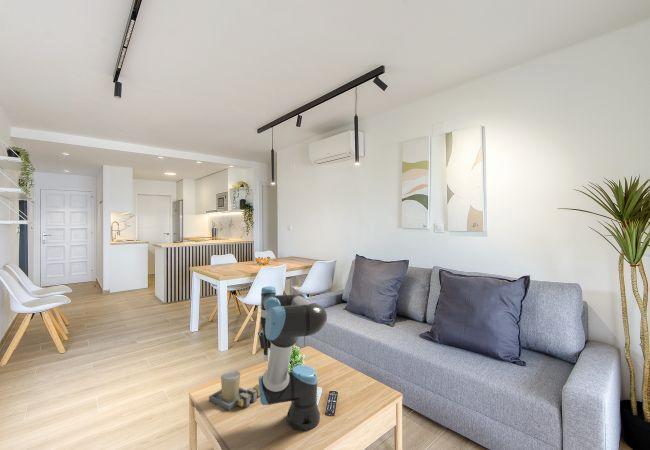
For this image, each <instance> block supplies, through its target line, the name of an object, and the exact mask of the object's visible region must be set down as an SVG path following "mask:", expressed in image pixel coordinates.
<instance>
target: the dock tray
mask: <svg viewBox="0 0 650 450" xmlns="http://www.w3.org/2000/svg"><path fill="white" fill-rule="evenodd" d="M249 392H251V393H253V398H252V399H251V400H250V395H247V393H249ZM241 397H243V398H246V404H244V405H243V406H242V407H243V408H246V409H248V408H249V407H250V405H251V403H256V402H257V401H258V397H257V390H254V389H253V387H252V388H251V387H248V389H245V388H243V387H240V386H239V394H238V398H237V399H236V400H235V401H233V402H224V401H223V400H222V388H221V389H219V390H217V391H215V392H214V393H213V394H210V395H209V397H208V401H209V402H210V403H212V404H214V405H215V406H218V407H220V408H222V409H225V411H232V410H233V409H234V408H236V407H237V406H239V405H238V399H240V398H241ZM250 402H251V403H250Z"/></svg>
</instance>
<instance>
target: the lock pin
mask: <svg viewBox="0 0 650 450" xmlns="http://www.w3.org/2000/svg"><path fill="white" fill-rule="evenodd" d="M252 389H254V390H257V398H258V397H260V390H259V383H258V384H256V385H254V386H252ZM247 395H250V400H251V399H252V398H253V393H251V392H249V393H247ZM244 404H246V398H243V397H241V398H240V399H238V405H237V406H239V407H243V405H244Z"/></svg>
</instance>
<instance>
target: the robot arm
mask: <svg viewBox="0 0 650 450" xmlns="http://www.w3.org/2000/svg"><path fill="white" fill-rule="evenodd" d="M276 291H277V289H276V287H274V286H263V287H261V293H260V297H261V298H260V305H261V307H260V324H261V328H260V331H258V332H257V335H258V338H259V344H260V348H261V349H262V350H263V361H266V362H267V363H268V364H267V369H266V370H265V371H264V373H263V375H260V376H258V385H259V390H260V396H259V399H260V404H261V405H262V406H272V405H277V404H283V403H286V402H287V403H288V402H290V404H289V408H288V411H287V414H286V415H287V416H286V423H287V424H288V425H289V427H290V428H292V429H294V430H297V431H309V430H311V429H314V428H315V427H317V426H318V425H319V423H320V420H321V413H320V410H319V406H318V402H317V400H318V397H317V396H318V373H317V371H316V370H315V369H314V368H312V367H310V366H307V365H303V364H301V365H295V366H293V367H292V370H291V371H290V372H288V371H289V366H290V362H291V356H292V351H293V346H295V344H296V343H297V342H298V339H299V338H301V337H308V336H309V337H310V336H311V337H312V336H314V335H316V334H317V333H319V332H321V331H322V330H323V329H324V327H325V325H326V324H327V319H328V314H327V311H326V309H325V308H324V307H323V305H320V304H319V303H316V302H315V303H314V302H311V301H309V297H308V295H307V294H305V293H296V294H280V295H279V294H277V292H276Z"/></svg>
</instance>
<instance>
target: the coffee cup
mask: <svg viewBox="0 0 650 450" xmlns="http://www.w3.org/2000/svg"><path fill="white" fill-rule="evenodd" d="M220 379H221V380H220V381H221V389H222V400H223V401H224V402H233V401H235V400H236V399H237V398H238V394H239V387H240V383H241V382H240V381H241V373H240V371H239V370H235V369H234V370H233V369H230V370H226V371H224V372H223V373H222V374H221V376H220Z"/></svg>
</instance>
